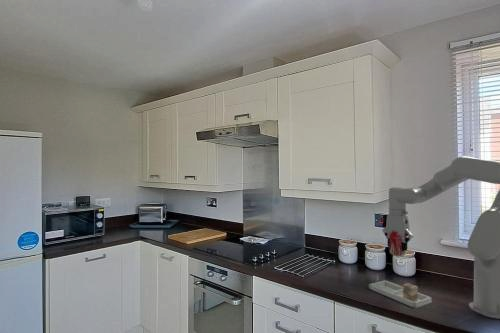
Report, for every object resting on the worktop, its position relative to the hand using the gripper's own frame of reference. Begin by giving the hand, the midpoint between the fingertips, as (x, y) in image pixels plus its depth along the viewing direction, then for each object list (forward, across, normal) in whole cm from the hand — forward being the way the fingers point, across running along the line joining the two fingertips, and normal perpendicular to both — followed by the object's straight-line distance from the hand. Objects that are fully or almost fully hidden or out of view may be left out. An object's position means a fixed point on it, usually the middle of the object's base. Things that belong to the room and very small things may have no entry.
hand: (397, 248), depth 148 cm
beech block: (+17, -15, +13) cm, 26 cm away
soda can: (+3, 0, 0) cm, 3 cm away
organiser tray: (+18, -10, +13) cm, 24 cm away
